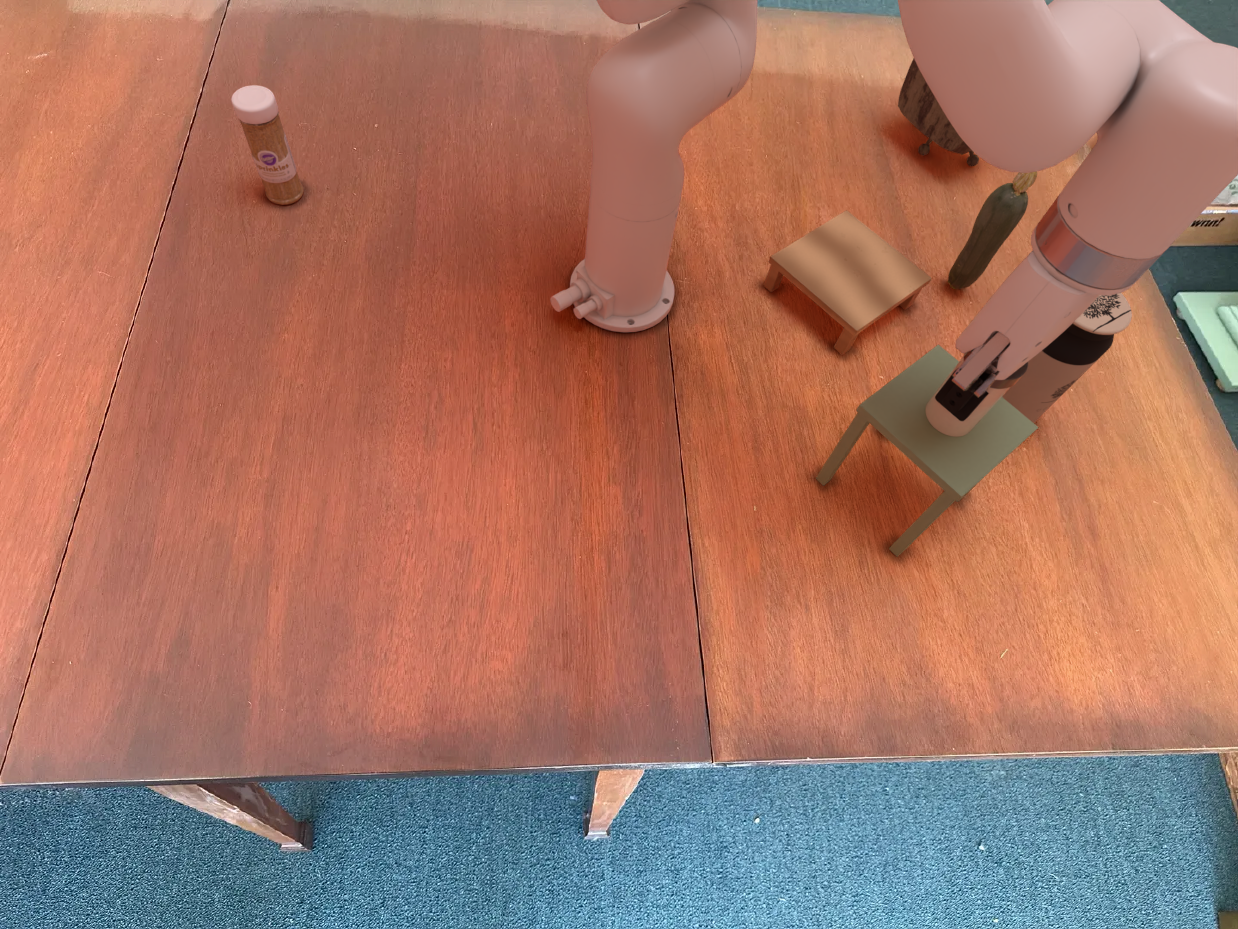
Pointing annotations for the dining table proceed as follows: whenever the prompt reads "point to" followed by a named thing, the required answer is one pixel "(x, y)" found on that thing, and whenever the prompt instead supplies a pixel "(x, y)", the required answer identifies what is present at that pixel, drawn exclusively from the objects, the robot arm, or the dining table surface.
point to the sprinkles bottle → (268, 143)
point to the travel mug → (1069, 356)
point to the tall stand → (932, 437)
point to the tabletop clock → (929, 116)
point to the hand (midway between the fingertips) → (969, 392)
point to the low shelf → (848, 274)
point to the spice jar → (957, 428)
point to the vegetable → (991, 229)
